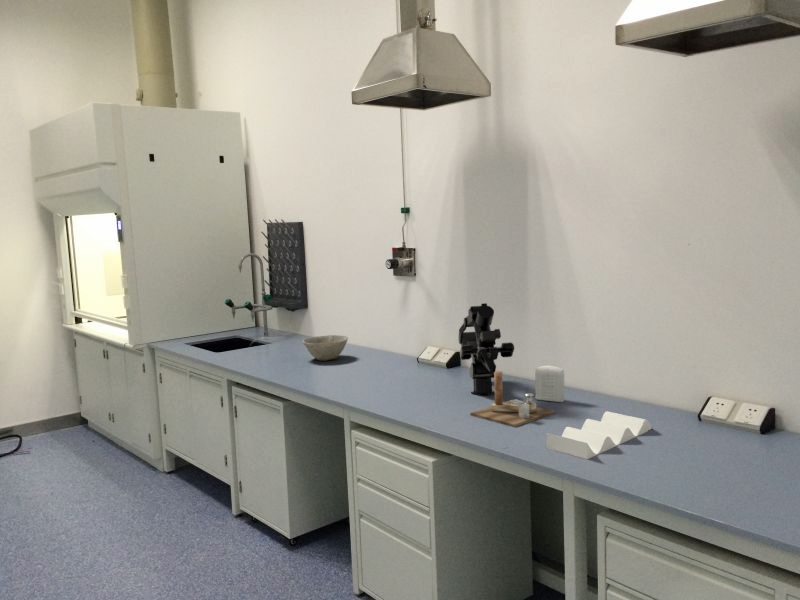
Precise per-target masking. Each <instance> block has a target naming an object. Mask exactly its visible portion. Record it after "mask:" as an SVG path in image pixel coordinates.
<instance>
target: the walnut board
mask: <svg viewBox="0 0 800 600" xmlns="http://www.w3.org/2000/svg"><path fill="white" fill-rule="evenodd" d="M503 404H511V403H510V400H508V401H505V402H504V401H503ZM554 414H555V410H552V409H547V408H543V407H540V406H539V407H538V406H536V412H535V413H529V418H526V419H522V418H520V417H519V412H507V411H491V406H488V407H485V408H482V409H478V410H476V411H475V410H474V411H472V412H470V413H469V415H470V416H473V417H476V418H479V419H483V420H487V421H491V422H494V423H497V424H498V423H499V424H502V425H505V426H508V427H513V428H516V427H518V426H521V425H522V426H523V425H524V424H528V423H531V422H533V421H536V420H539V419H541V418H545V417H548V416H550V415H554Z"/></svg>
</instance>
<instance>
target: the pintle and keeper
mask: <svg viewBox="0 0 800 600" xmlns="http://www.w3.org/2000/svg"><path fill="white" fill-rule="evenodd" d="M524 397H525V398H526V402H527V403H526V402H525V401H522V400H520V399H518V398H517V399H516V398H515V399H510V400H509V401H510V403H511V404H514V405H516V406H518V407H519V417H520V418H522V419H526V418H529V405H530V404H532V402H533V397H534V393H531V392H527V393H524Z"/></svg>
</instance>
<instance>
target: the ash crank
mask: <svg viewBox="0 0 800 600" xmlns="http://www.w3.org/2000/svg"><path fill="white" fill-rule="evenodd" d="M493 379H494V392H495V393H494V402H492V403H491V404H490V407H491V411H507V412H519V407H518V406H516V405H514V404H503V403H504V400H503V399H504V398H503V397H504V393H503V392H504V391H503V371H502V370H495V372H494V378H493ZM525 403H527V401H526V402H525ZM536 407H537V403H536V402H533V401H532V404H530V405H529V413H535V412H536Z"/></svg>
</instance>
